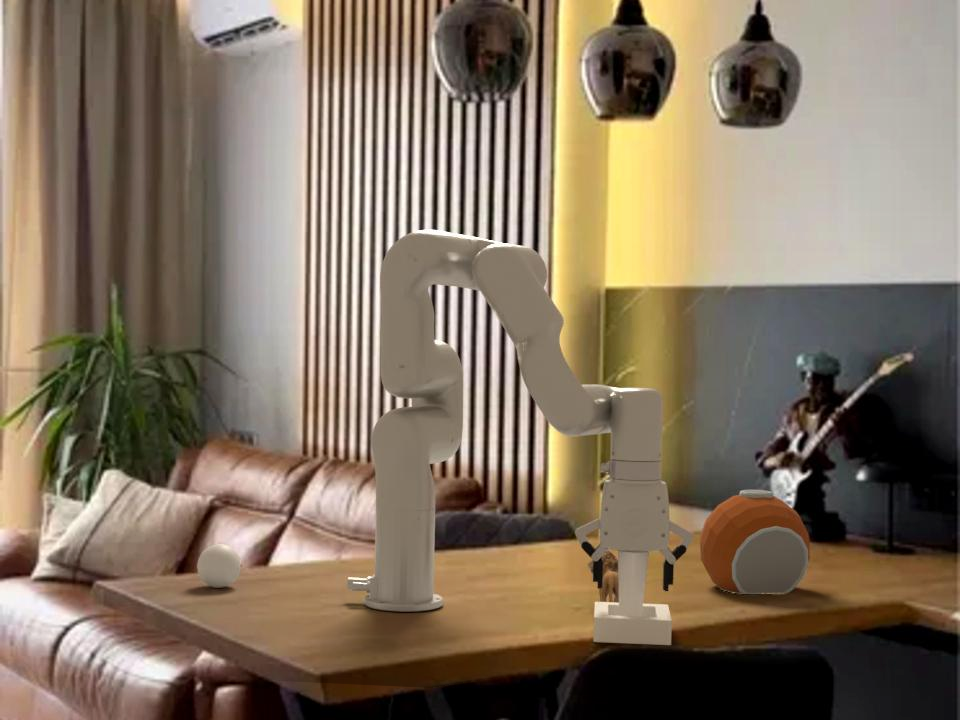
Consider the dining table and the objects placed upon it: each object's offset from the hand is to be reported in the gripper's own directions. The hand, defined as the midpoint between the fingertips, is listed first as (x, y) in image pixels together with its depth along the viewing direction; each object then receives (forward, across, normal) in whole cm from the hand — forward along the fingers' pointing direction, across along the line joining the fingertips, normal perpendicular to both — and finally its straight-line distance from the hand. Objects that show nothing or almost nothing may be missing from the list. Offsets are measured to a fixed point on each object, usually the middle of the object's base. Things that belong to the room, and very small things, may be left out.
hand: (632, 588), depth 204 cm
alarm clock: (+7, +22, +42) cm, 48 cm away
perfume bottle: (+7, 0, 0) cm, 7 cm away
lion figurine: (+7, -4, +17) cm, 19 cm away
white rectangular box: (+7, 0, 0) cm, 7 cm away
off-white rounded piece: (+7, -69, +25) cm, 74 cm away
